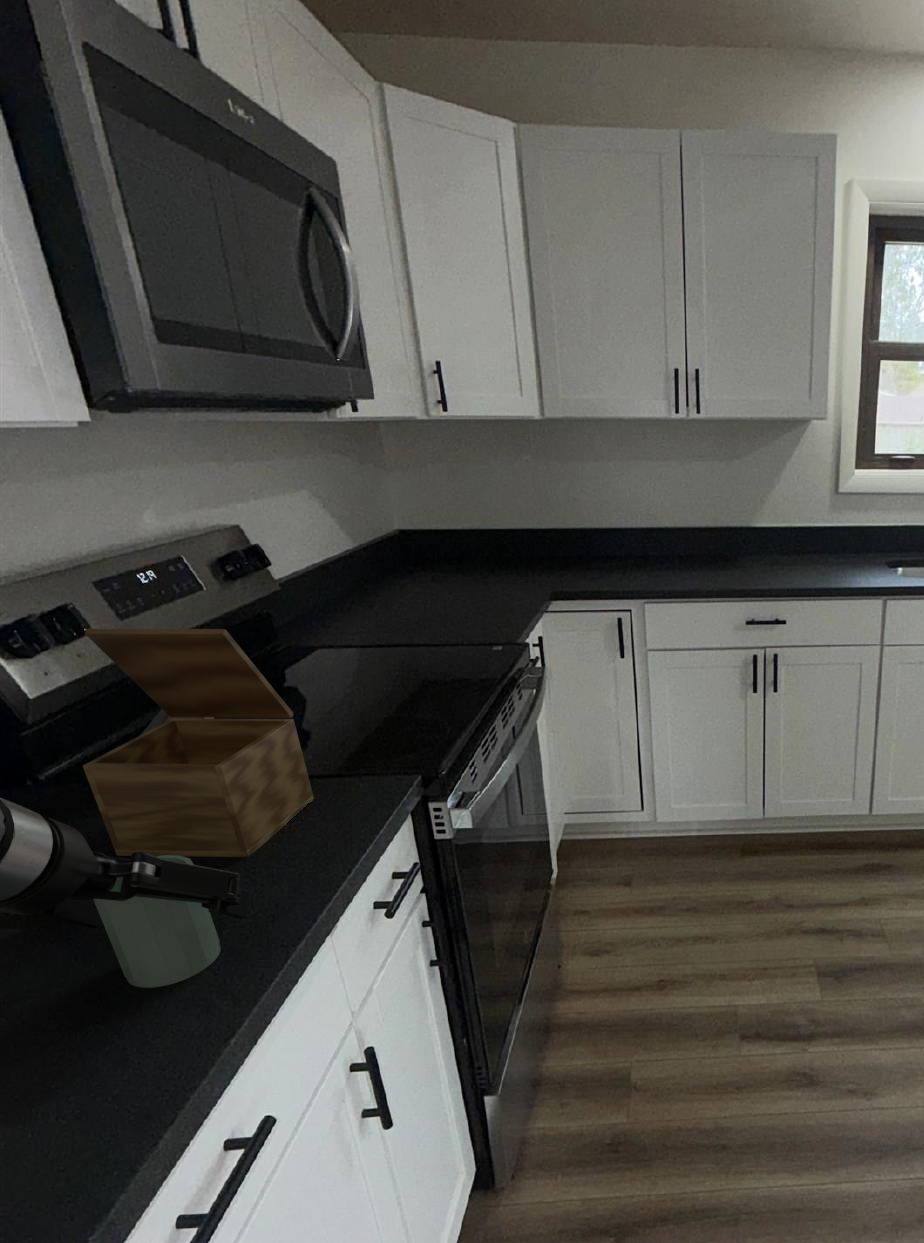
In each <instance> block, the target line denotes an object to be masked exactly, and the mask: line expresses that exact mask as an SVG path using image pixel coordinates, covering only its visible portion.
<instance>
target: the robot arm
mask: <svg viewBox="0 0 924 1243" xmlns="http://www.w3.org/2000/svg"><path fill="white" fill-rule="evenodd" d="M241 874H242V873H239V872H236V871H228V870H223V869H218V868H213V867H208V866H201V865H197V864H194V865H192V864H187V863H182V862H177V861H171V860H166V859H161V858H158V857H156V856H152V855H149V854H146V853H144V852H137V853H132V855H131V856H130V858H124V857H118V856H110V855H109V856H108V855H106V854H104V852H99V851H94V850H92V849H91V846H90V845H89V843H88V841H87V840H86V838H85V837H84V836H83V834H82V833H81V832H80V831H79V830H78V829H76V828H74V827H73V826H71V825H69V824H66V823H63V822H61V821H58V820H56V819H53V818H51V817H48V816H46V815H44V814H43V815H42V814H40V813H38V812H35V811H34V810H31V809H30V808H27V807H25V806H22V805H20V804H17V803H15V802H13V801H10V800H7V799H5V798H2V797H0V916H1V917H9V916H14V915H21V916H22V915H26V916H29V917H35V916H40V915H42V914H44V915H43V917H46V918H49V919H53V920H57V921H63V922H65V923H71V924H75V925H79V926H83V927H87V928H91V929H101V928H102V927H103V922H102V919H101V917H100V915H99V912H98V910H97V907H96V905H95V902H94V900H93V899H105V900H116V901H126V900H128V899H130V898H133V897H134V896H135V897H145V898H156V899H166V900H176V901H187V902H197V903H202V906H201V907H204V908H207V909H209V911H208V912H210V913H219V914H222V915H225V916H228V917H231V918H233V919H237V920H243V919H247V913H248V905H249V904H248V903H249V899H250V891H249V890H246V889H243V888H241V887H240V882H241ZM118 877H123V880H122V885H121V890H120V892H115V891H111V890H112V889H113V887H114V885H115V883H116V880H117V878H118Z"/></svg>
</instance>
